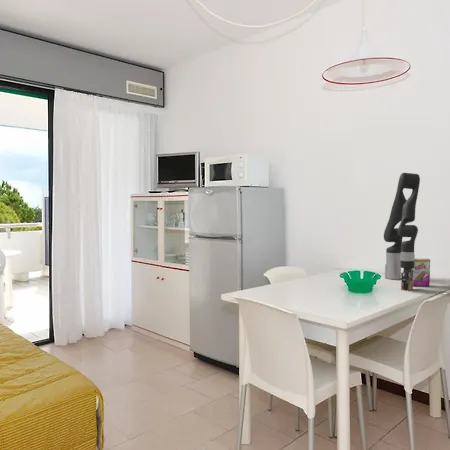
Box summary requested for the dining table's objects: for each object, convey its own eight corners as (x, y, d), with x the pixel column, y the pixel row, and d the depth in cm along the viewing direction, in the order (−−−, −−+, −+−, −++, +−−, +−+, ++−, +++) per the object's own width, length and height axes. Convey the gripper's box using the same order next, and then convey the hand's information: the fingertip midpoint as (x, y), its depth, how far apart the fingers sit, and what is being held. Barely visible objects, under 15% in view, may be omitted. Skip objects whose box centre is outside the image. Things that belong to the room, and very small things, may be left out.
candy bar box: (410, 286, 251) (411, 259, 250) (407, 284, 256) (408, 258, 255) (430, 286, 250) (430, 259, 249) (427, 284, 255) (427, 258, 254)
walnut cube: (401, 289, 241) (401, 281, 241) (403, 288, 245) (404, 279, 245) (410, 290, 238) (410, 282, 238) (412, 289, 242) (413, 280, 242)
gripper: (404, 257, 249) (404, 286, 250) (396, 260, 238) (396, 290, 239) (418, 258, 244) (417, 287, 245) (410, 261, 233) (410, 291, 234)
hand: (407, 288), depth 242 cm, fingers closed on walnut cube, 5 cm apart
